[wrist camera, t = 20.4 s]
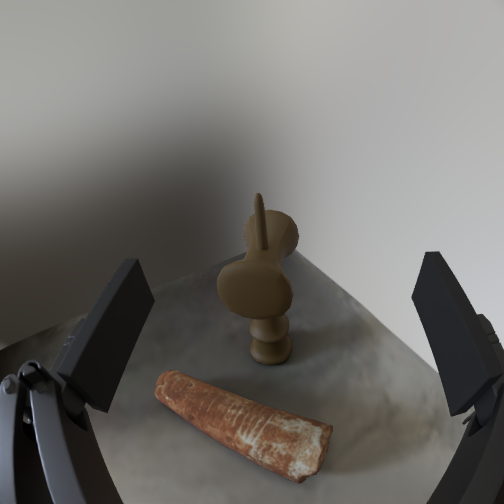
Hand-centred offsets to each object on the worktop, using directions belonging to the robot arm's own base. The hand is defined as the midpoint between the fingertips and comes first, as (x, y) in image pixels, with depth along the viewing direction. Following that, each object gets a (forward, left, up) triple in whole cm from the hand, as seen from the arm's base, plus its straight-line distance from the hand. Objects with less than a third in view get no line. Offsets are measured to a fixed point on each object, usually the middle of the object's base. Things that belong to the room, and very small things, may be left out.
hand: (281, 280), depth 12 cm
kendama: (-3, -11, -21) cm, 23 cm away
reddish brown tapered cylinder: (+5, -2, -21) cm, 21 cm away
